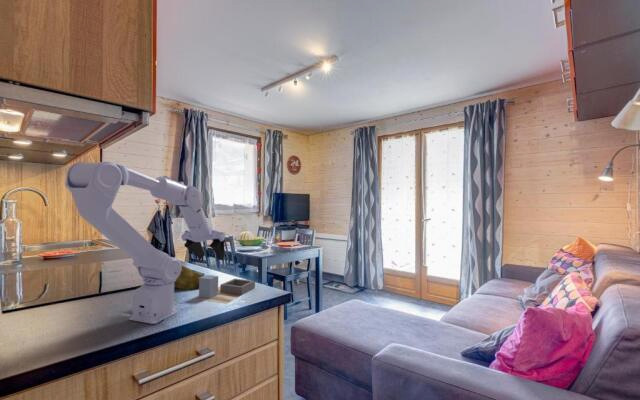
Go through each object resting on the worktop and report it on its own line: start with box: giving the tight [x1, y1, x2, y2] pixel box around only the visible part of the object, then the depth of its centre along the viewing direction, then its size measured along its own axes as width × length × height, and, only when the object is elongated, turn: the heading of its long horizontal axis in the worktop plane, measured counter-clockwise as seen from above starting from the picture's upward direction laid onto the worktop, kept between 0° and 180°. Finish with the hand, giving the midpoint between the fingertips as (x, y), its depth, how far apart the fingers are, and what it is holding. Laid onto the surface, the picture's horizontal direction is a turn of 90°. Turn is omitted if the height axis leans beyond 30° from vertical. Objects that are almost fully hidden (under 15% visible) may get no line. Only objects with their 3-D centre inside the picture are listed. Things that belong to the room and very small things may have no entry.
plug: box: [198, 274, 219, 299], centre depth 100 cm, size 4×4×6 cm
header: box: [219, 278, 256, 296], centre depth 107 cm, size 9×8×2 cm
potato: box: [174, 265, 204, 291], centre depth 108 cm, size 8×13×8 cm, turn 81°
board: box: [191, 286, 256, 305], centre depth 103 cm, size 18×12×1 cm, turn 163°
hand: (212, 257), depth 102 cm, fingers open, 7 cm apart
